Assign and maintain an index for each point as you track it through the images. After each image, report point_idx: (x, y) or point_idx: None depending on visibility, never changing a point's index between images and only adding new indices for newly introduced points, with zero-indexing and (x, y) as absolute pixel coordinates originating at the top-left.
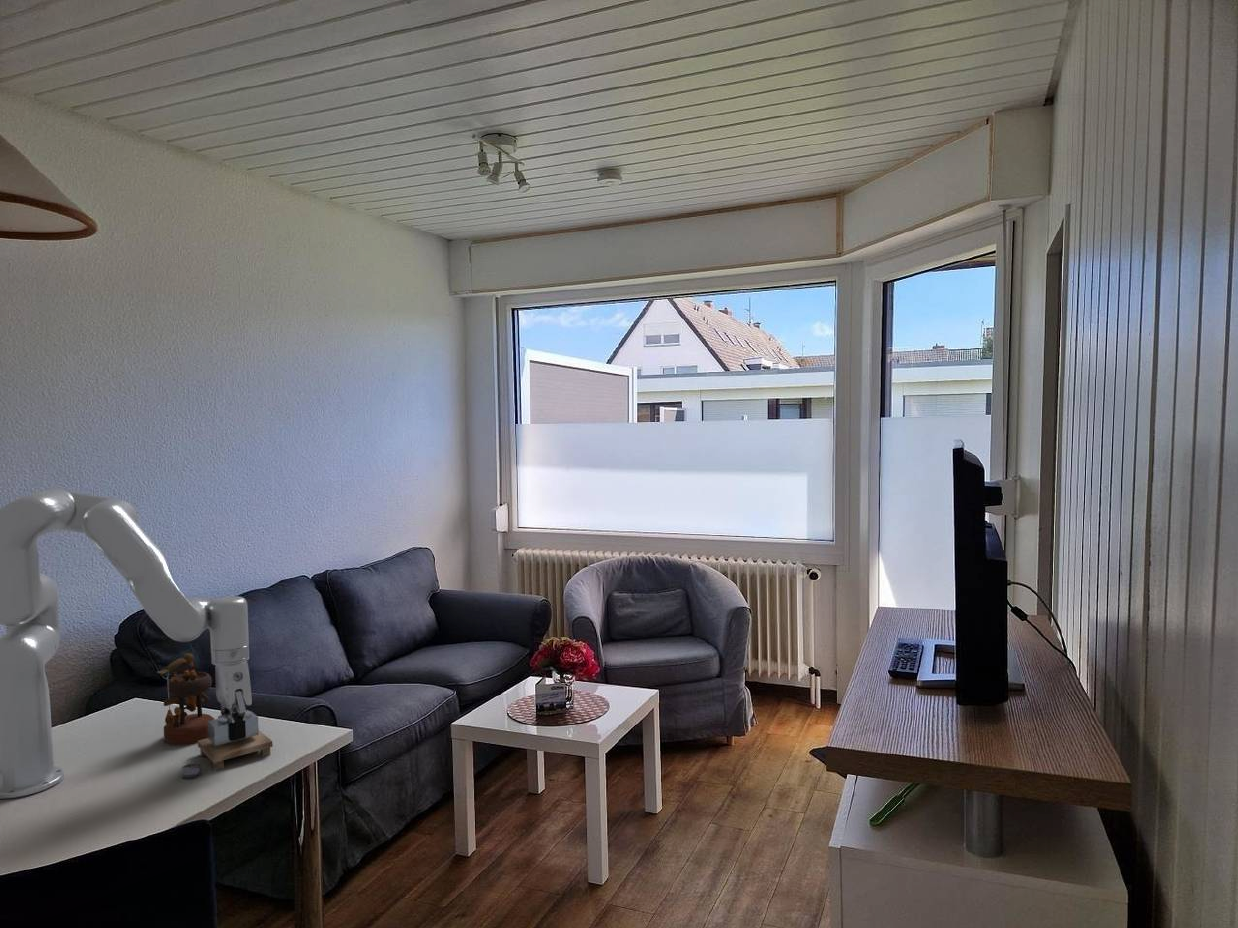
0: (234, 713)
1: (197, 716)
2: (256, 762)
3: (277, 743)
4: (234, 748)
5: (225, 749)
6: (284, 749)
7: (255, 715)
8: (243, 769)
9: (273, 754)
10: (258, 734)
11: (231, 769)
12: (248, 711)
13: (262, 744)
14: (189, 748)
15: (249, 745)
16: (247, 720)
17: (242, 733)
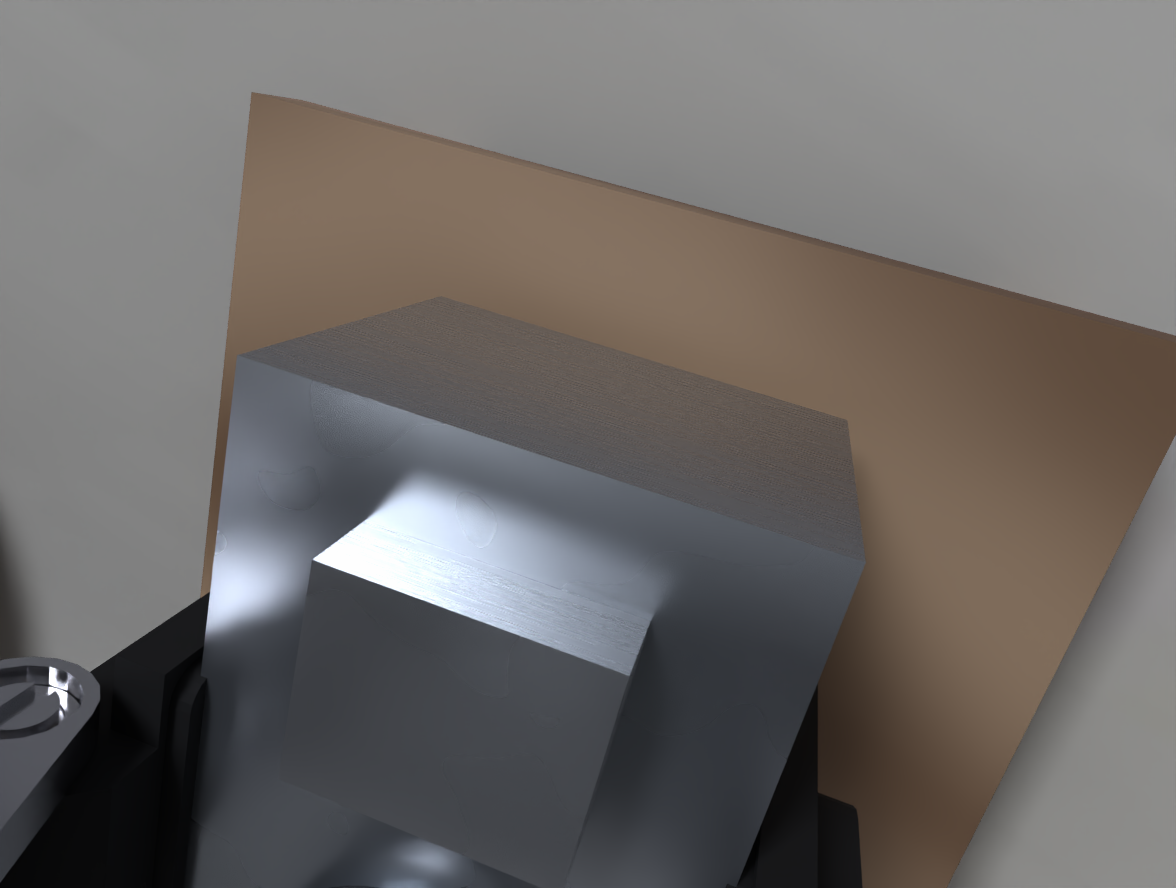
0: (163, 714)
1: None
2: (1126, 594)
3: (801, 5)
4: None
5: None
6: (1137, 84)
7: (677, 518)
8: (1149, 795)
9: (1129, 305)
10: (843, 424)
11: (993, 840)
12: (435, 625)
13: (1125, 515)
14: (84, 650)
15: (962, 656)
16: (771, 794)
17: (851, 815)
